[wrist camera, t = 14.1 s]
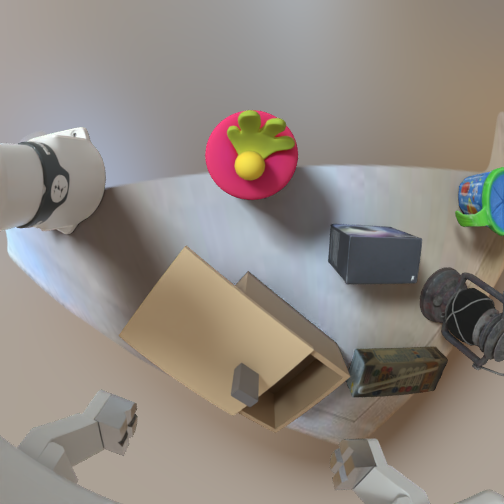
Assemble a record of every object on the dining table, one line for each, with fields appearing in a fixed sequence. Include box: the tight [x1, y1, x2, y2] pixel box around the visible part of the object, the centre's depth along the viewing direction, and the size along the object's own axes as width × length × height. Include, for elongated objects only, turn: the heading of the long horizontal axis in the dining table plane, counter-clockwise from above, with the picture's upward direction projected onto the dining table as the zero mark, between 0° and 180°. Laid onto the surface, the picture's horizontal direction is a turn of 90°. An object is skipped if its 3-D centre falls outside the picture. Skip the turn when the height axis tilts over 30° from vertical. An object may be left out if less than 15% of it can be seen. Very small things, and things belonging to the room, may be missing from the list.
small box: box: [328, 224, 422, 284], centre depth 38 cm, size 11×6×10 cm, turn 90°
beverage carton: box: [346, 347, 448, 397], centre depth 45 cm, size 8×19×7 cm, turn 84°
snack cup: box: [455, 167, 504, 236], centre depth 35 cm, size 16×10×10 cm
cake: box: [205, 110, 298, 200], centre depth 33 cm, size 10×11×15 cm
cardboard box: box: [235, 271, 351, 433], centre depth 42 cm, size 20×16×10 cm
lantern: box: [420, 268, 504, 376], centre depth 30 cm, size 12×11×30 cm
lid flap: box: [119, 246, 314, 416], centre depth 33 cm, size 21×17×6 cm
